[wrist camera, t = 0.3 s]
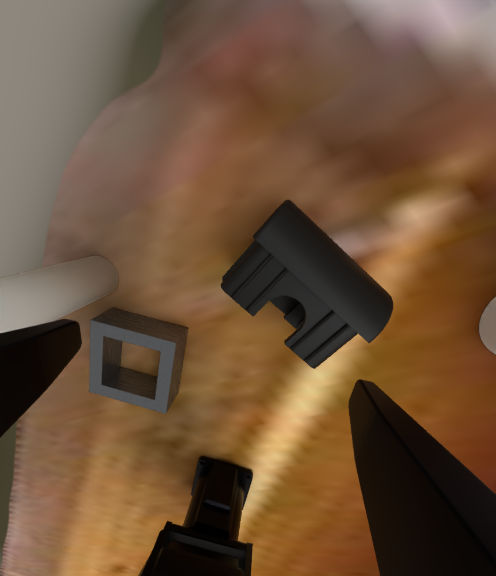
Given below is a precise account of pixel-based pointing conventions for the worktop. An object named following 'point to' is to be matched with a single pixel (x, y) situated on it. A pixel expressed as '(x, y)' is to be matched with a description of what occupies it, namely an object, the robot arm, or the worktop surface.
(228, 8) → the worktop surface
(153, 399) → the square frame
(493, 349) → the cylindrical container
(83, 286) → the white tapered peg
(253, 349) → the worktop surface
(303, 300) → the end cap
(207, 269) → the worktop surface
